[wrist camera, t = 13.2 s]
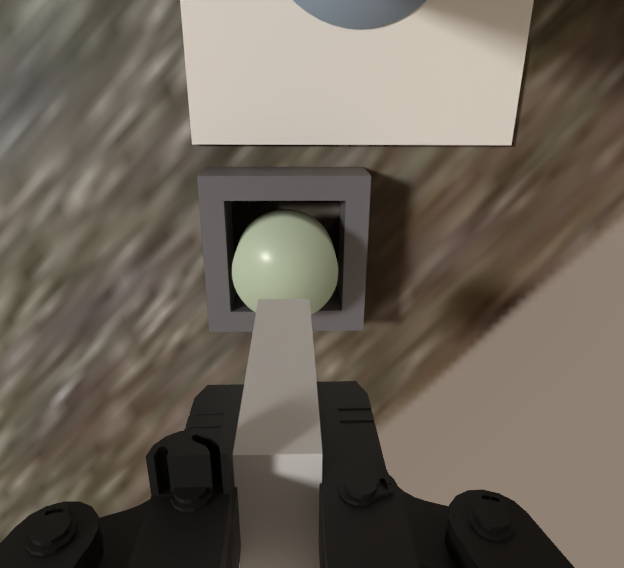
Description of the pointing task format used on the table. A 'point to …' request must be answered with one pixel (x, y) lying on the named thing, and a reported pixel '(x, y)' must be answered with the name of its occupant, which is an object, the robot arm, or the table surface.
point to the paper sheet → (354, 71)
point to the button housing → (284, 187)
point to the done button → (285, 260)
